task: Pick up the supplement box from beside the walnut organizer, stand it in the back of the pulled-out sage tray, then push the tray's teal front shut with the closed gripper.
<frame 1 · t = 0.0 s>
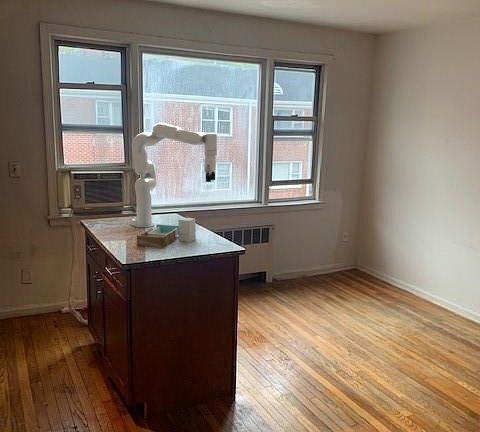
hand: (210, 180, 289), 31 cm above the worktop, tool pointing down, fingers open, 9 cm apart
supplement box: (187, 240, 267), on the worktop
tray: (163, 232, 268), point 4 cm above the worktop, slide at 8.0 cm
organizer: (157, 242, 261), on the worktop
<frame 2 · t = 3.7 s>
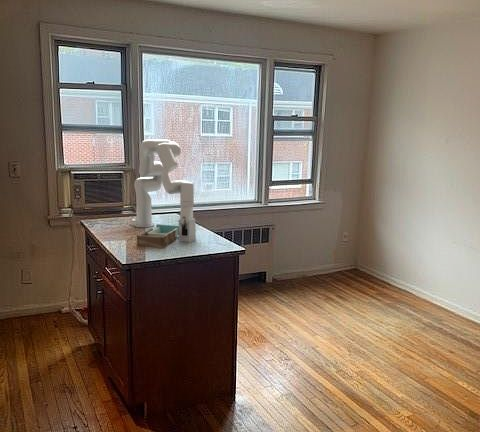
hand: (187, 233, 266), 4 cm above the worktop, tool pointing down, fingers closed on supplement box, 8 cm apart
supplement box: (187, 240, 267), on the worktop, touching gripper
everything else where it was.
when the fingers open (7 cm above the worktop, at t = 10.0 s): supplement box drops 1 cm, resting on tray.
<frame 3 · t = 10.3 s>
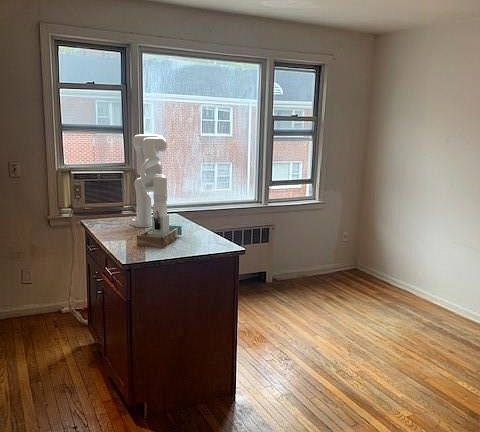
hand: (160, 227, 264), 8 cm above the worktop, tool pointing down, fingers open, 9 cm apart
supplement box: (161, 237, 265), point 2 cm above the worktop, touching tray
tray: (163, 232, 268), point 4 cm above the worktop, slide at 7.9 cm, touching supplement box
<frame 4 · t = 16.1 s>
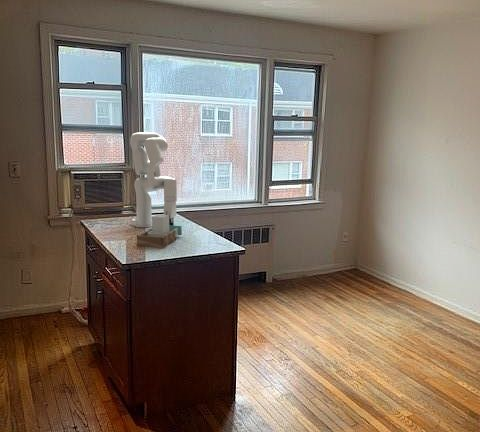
hand: (170, 228, 279), 4 cm above the worktop, tool pointing down, fingers closed
tray: (163, 232, 268), point 4 cm above the worktop, slide at 7.8 cm, touching gripper, supplement box
everything else where it was.
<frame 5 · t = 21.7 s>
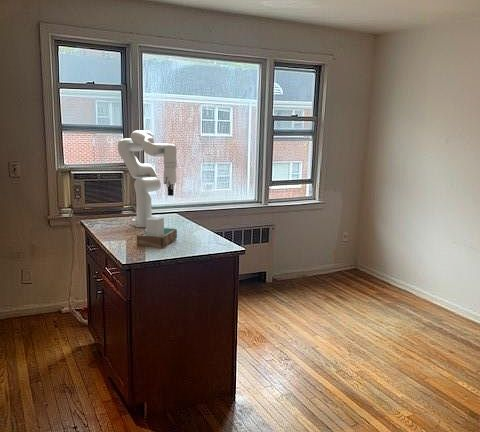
hand: (170, 195, 281), 23 cm above the worktop, tool pointing down, fingers closed
supplement box: (155, 240, 258), point 2 cm above the worktop, touching tray
tray: (157, 236, 260), point 4 cm above the worktop, slide at 0.0 cm, touching supplement box
at the end: tray slide at 0.0 cm; supplement box inside the target area on the organizer (0.8 cm from its centre), point 1.7 cm above the organizer's base; supplement box tilted 0° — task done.
